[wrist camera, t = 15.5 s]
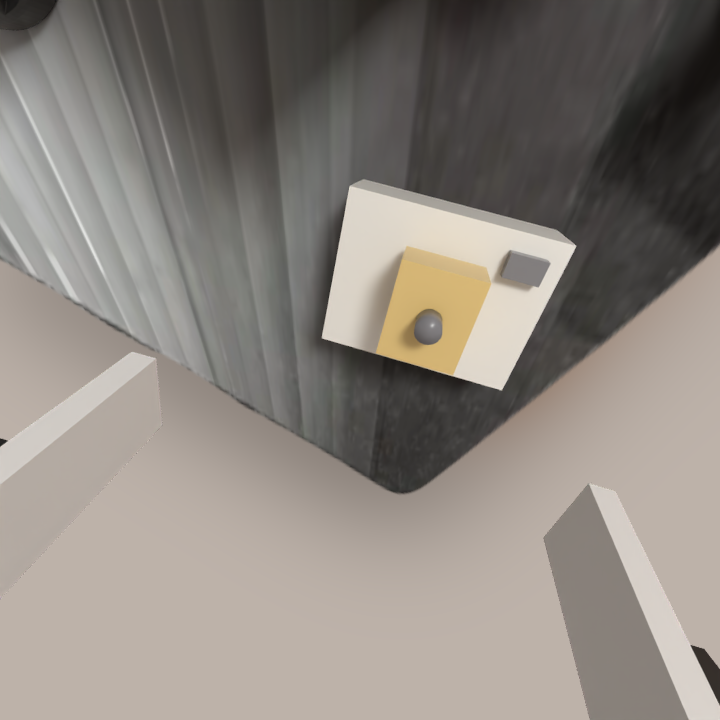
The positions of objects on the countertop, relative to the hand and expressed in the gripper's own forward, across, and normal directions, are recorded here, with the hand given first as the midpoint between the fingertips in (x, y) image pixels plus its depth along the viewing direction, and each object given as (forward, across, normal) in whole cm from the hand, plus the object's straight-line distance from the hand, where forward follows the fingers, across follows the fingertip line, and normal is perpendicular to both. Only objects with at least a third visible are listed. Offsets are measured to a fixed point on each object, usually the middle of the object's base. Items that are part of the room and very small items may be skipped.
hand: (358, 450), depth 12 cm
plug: (+29, +3, -4) cm, 30 cm away
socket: (+29, +3, -4) cm, 30 cm away
